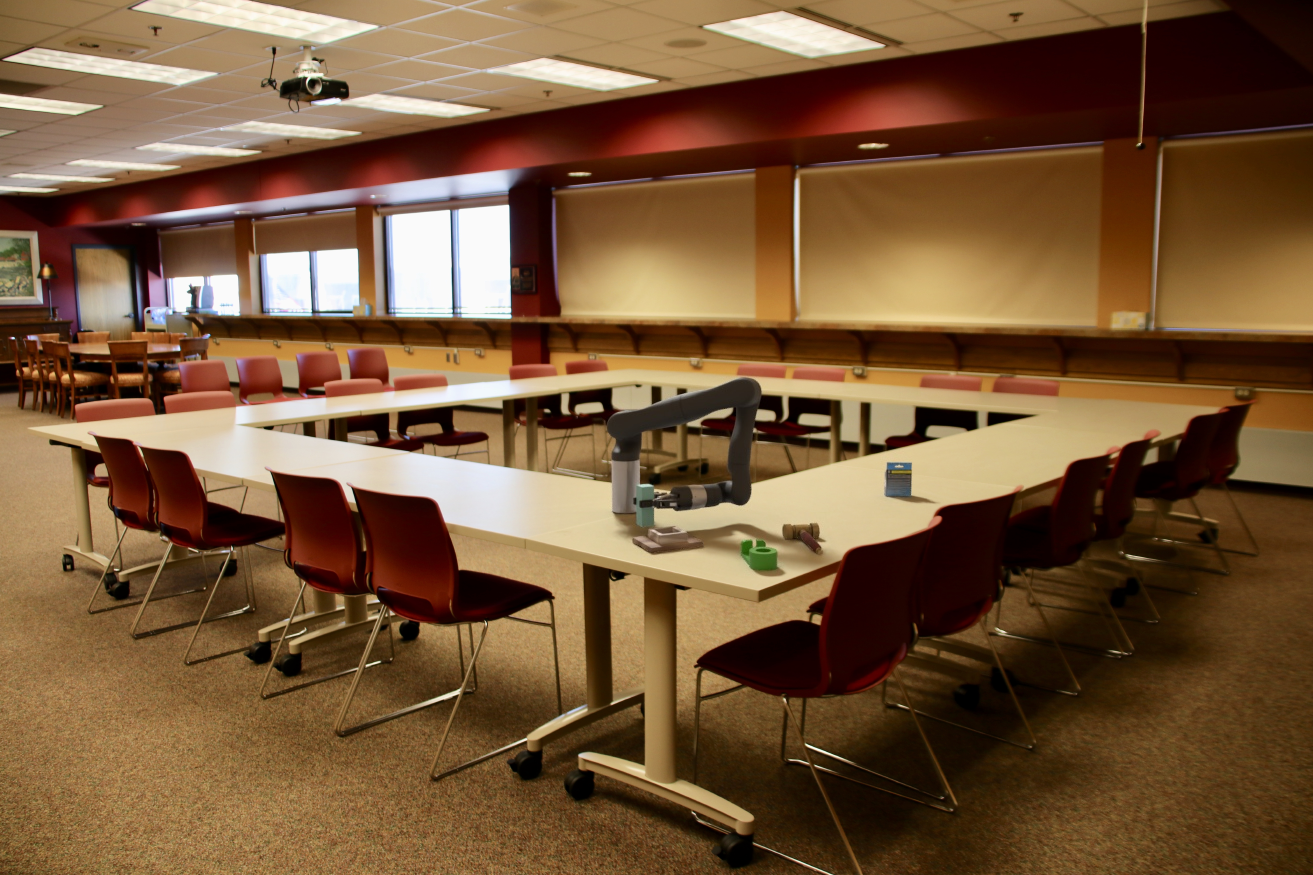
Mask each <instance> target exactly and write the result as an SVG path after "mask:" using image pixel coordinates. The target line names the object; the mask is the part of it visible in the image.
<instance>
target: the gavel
mask: <svg viewBox="0 0 1313 875" xmlns="http://www.w3.org/2000/svg"><path fill="white" fill-rule="evenodd" d="M820 531H821V530H820V526H819V523H817V522H810V523H809V524H806V523H804V524H791V523H784V524H782V529H781V532H782V533H781V534H782V538H783V539H784V540H792V539H801V540H802V541H803V543H805V544H806V545H807V547H809V549H811V551H812V552H813V553H816V554H819V555H821V554H822V550H823V549H822V546H821V545H820V543H819V542H818V541H817V540H816V539H819V537H820V533H821V532H820Z"/></svg>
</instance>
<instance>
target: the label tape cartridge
mask: <svg viewBox="0 0 1313 875" xmlns="http://www.w3.org/2000/svg"><path fill="white" fill-rule="evenodd" d="M912 465H913V462H901V461H900V462H899V461H898V462H895V461H893V462H889V461H888V462H886V469H885V471H884V482H883V484H884V488H883V490H884V492H883V495H884V496H885V497H886V498H887V497H905V498H907V497H908V498H911V497H912V485H913V484H912V481H913V480H912V479H913V478H912V476H913V469H912V468H913V467H912ZM897 466H898V467H897Z"/></svg>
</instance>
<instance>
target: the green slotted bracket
mask: <svg viewBox="0 0 1313 875" xmlns="http://www.w3.org/2000/svg"><path fill="white" fill-rule="evenodd" d="M753 543H754V541H753V539H743V540H742V541H741V542H740V557H741V558H742V559H743V560H744V561H745V562H746V564H747V565H748V566H749V567H748V568H750V569H752V570H754V571H758V572H759V571H762V572H766V571H767V572H768V571H773V570H774V571H775V570H777V568H778V549H777V548H774V547H768V546H767V544H766V541H765V540H764V539H763V538H757V539H755V546H754V544H753Z"/></svg>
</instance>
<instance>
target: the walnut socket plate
mask: <svg viewBox="0 0 1313 875" xmlns="http://www.w3.org/2000/svg"><path fill="white" fill-rule="evenodd" d="M632 543H633V544H634V545H636V544H637V546H638V545H639V546H638V547H640V546H641V547H642V549H643V548H644V550H645V549H646V550H647V551H646V550H645V551H646V552H648V551H649V552H648V553H650V552H651V553H650V554H655V553H654V552H657V553H664V552H665V553H666V552H672V550H673V551H679V550H680V549H681V550H688V549H695V548H702V547H703V548H704V540H701V539H699V538H697V537H695V536H693V535H691V534H689V533H688V532H687V531H686V530H683V529H681V528H679V527H678V526H675V525H672V526H662V527H661V526H660V527H656V528H655V527H653V528H648V529H647V535H640V536H633V537H632ZM641 547H640V548H641Z"/></svg>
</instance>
